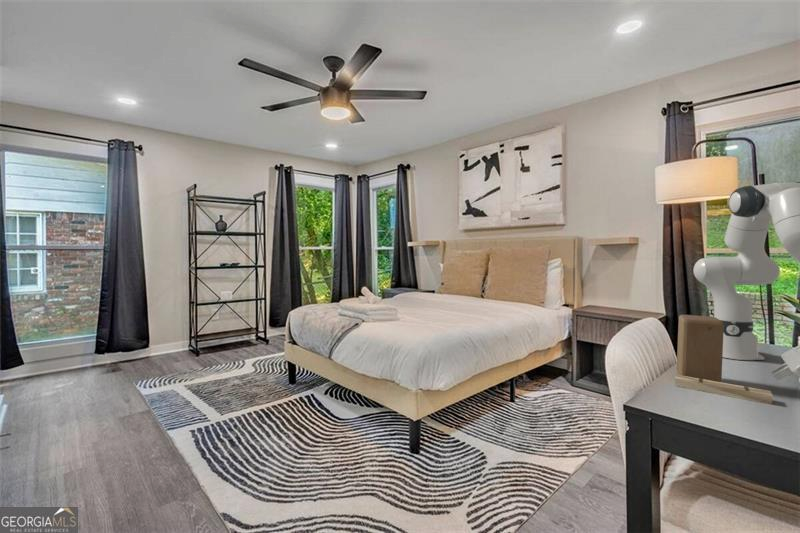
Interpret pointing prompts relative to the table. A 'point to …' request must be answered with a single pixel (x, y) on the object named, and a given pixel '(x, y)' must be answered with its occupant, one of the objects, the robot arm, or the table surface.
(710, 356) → the wooden block
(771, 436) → the table surface
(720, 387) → the maple board
